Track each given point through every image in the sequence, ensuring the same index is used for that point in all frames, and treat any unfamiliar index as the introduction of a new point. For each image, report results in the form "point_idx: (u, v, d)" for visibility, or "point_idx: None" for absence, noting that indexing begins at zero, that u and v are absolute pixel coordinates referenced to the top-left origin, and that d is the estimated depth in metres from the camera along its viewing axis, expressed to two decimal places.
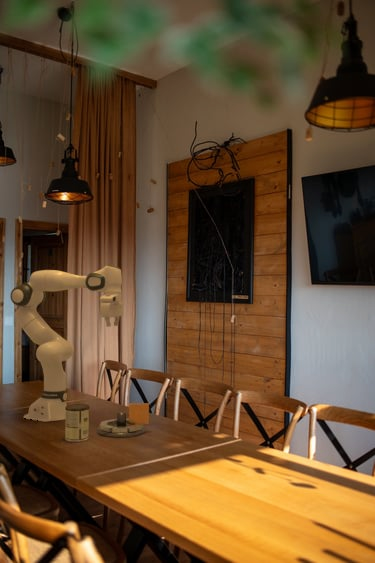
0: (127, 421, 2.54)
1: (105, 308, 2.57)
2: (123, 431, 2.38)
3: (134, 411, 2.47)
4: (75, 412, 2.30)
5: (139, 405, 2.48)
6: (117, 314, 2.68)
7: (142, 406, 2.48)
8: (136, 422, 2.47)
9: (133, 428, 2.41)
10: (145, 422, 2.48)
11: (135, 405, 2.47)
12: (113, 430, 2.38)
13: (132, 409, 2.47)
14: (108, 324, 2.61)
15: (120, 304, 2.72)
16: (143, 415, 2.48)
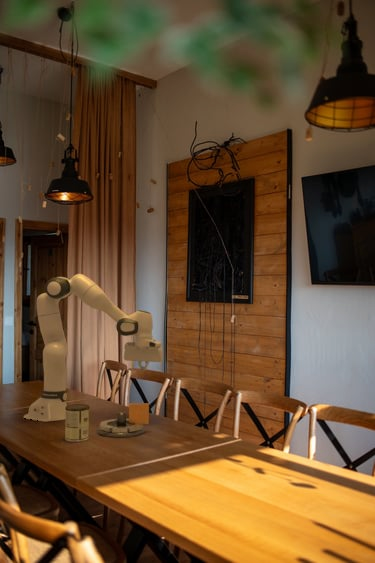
0: (127, 421, 2.54)
1: (162, 352, 2.69)
2: (123, 431, 2.38)
3: (134, 411, 2.47)
4: (75, 412, 2.30)
5: (139, 405, 2.48)
6: None
7: (142, 406, 2.48)
8: (136, 422, 2.47)
9: (133, 428, 2.41)
10: (145, 422, 2.48)
11: (135, 405, 2.47)
12: (113, 430, 2.38)
13: (132, 409, 2.47)
14: (146, 368, 2.71)
15: None
16: (143, 415, 2.48)
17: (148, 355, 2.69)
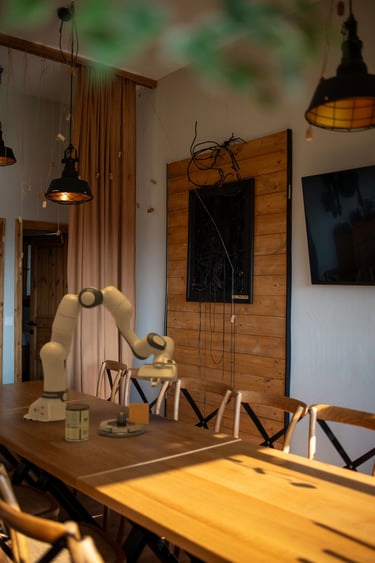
0: (127, 421, 2.54)
1: (177, 373, 2.70)
2: (123, 431, 2.38)
3: (134, 411, 2.47)
4: (75, 412, 2.30)
5: (139, 405, 2.48)
6: None
7: (142, 406, 2.48)
8: (136, 422, 2.47)
9: (133, 428, 2.41)
10: (145, 422, 2.48)
11: (135, 405, 2.47)
12: (113, 430, 2.38)
13: (132, 409, 2.47)
14: (157, 385, 2.66)
15: None
16: (143, 415, 2.48)
17: (163, 372, 2.69)
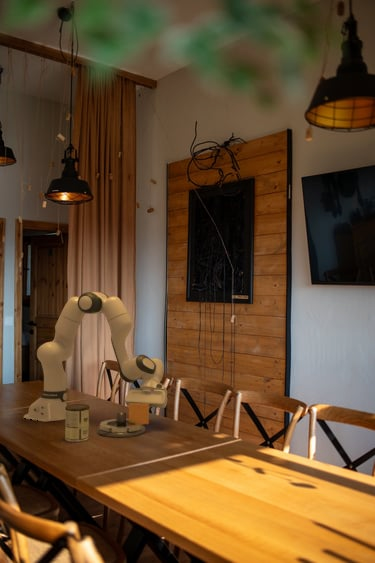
0: (127, 421, 2.54)
1: (166, 399, 2.54)
2: (122, 431, 2.38)
3: (134, 411, 2.47)
4: (75, 412, 2.30)
5: (139, 405, 2.47)
6: None
7: (142, 406, 2.47)
8: (136, 422, 2.47)
9: (132, 428, 2.41)
10: (145, 422, 2.47)
11: (135, 405, 2.47)
12: (112, 430, 2.38)
13: (132, 409, 2.47)
14: None
15: None
16: (143, 415, 2.47)
17: (152, 397, 2.53)
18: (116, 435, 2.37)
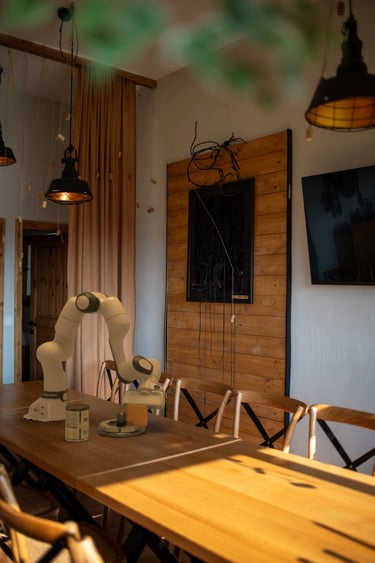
0: None
1: (164, 400, 2.51)
2: (114, 431, 2.38)
3: (132, 412, 2.45)
4: (75, 412, 2.30)
5: (136, 406, 2.44)
6: None
7: (139, 408, 2.44)
8: (134, 423, 2.45)
9: (125, 429, 2.39)
10: (142, 424, 2.43)
11: (133, 406, 2.45)
12: (105, 429, 2.40)
13: (130, 410, 2.45)
14: None
15: None
16: (140, 417, 2.44)
17: (150, 399, 2.50)
18: (116, 435, 2.37)
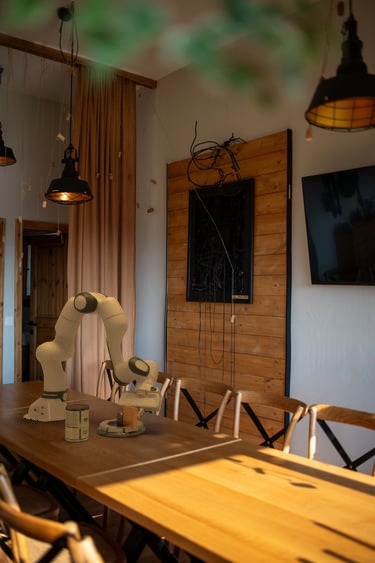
0: None
1: (161, 402, 2.47)
2: (104, 429, 2.41)
3: (126, 413, 2.43)
4: (75, 412, 2.30)
5: (128, 408, 2.41)
6: None
7: (130, 409, 2.40)
8: (127, 425, 2.42)
9: (112, 429, 2.39)
10: (131, 427, 2.38)
11: (126, 407, 2.42)
12: (99, 426, 2.45)
13: (125, 411, 2.43)
14: (139, 415, 2.43)
15: None
16: (130, 419, 2.39)
17: (146, 401, 2.46)
18: (116, 435, 2.37)
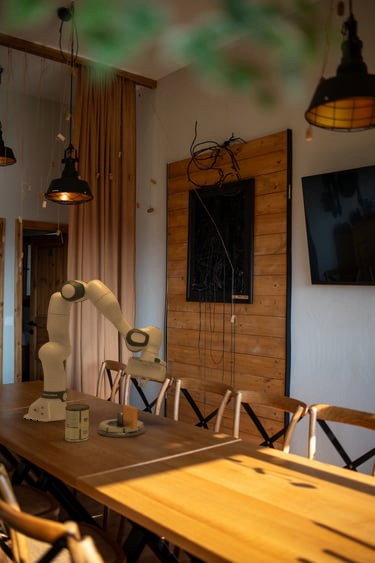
0: None
1: (165, 372, 2.61)
2: (104, 429, 2.41)
3: (126, 413, 2.43)
4: (75, 412, 2.30)
5: (128, 408, 2.41)
6: None
7: (130, 409, 2.40)
8: (127, 425, 2.42)
9: (112, 429, 2.39)
10: (131, 427, 2.38)
11: (126, 407, 2.42)
12: (99, 426, 2.45)
13: (125, 411, 2.43)
14: (145, 385, 2.61)
15: None
16: (130, 419, 2.39)
17: (150, 371, 2.60)
18: (116, 435, 2.37)
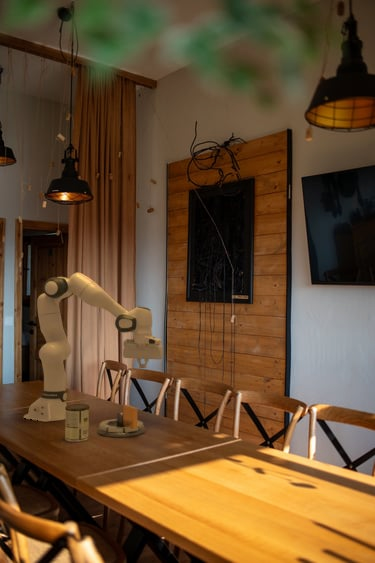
0: None
1: (162, 350, 2.63)
2: (104, 429, 2.41)
3: (126, 413, 2.43)
4: (75, 412, 2.30)
5: (128, 408, 2.41)
6: None
7: (130, 409, 2.40)
8: (127, 425, 2.42)
9: (112, 429, 2.39)
10: (131, 427, 2.38)
11: (126, 407, 2.42)
12: (99, 426, 2.45)
13: (125, 411, 2.43)
14: (145, 365, 2.65)
15: None
16: (130, 419, 2.39)
17: (148, 352, 2.62)
18: (116, 435, 2.37)
